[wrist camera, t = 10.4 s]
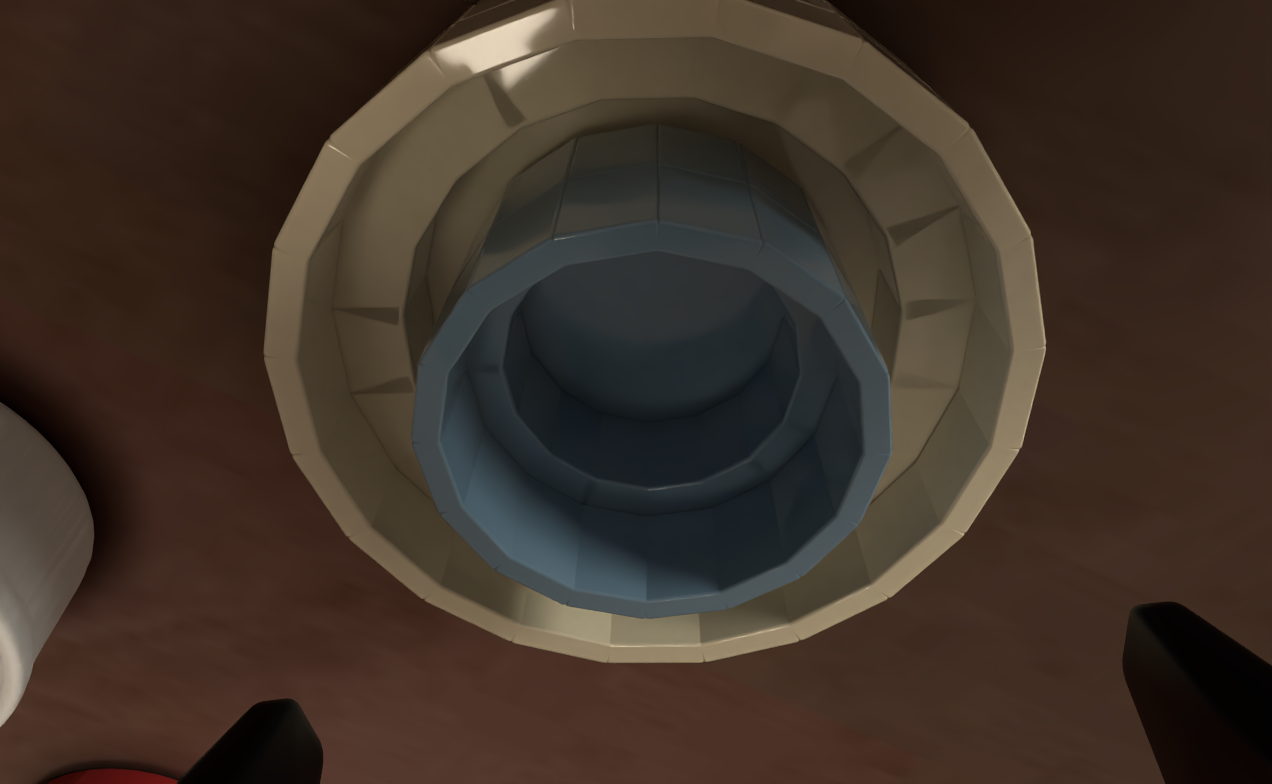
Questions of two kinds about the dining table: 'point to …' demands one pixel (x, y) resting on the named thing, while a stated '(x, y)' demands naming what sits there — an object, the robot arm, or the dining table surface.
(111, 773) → the canned food
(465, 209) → the cream bowl
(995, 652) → the dining table surface
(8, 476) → the ramekin
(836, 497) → the slate bowl
